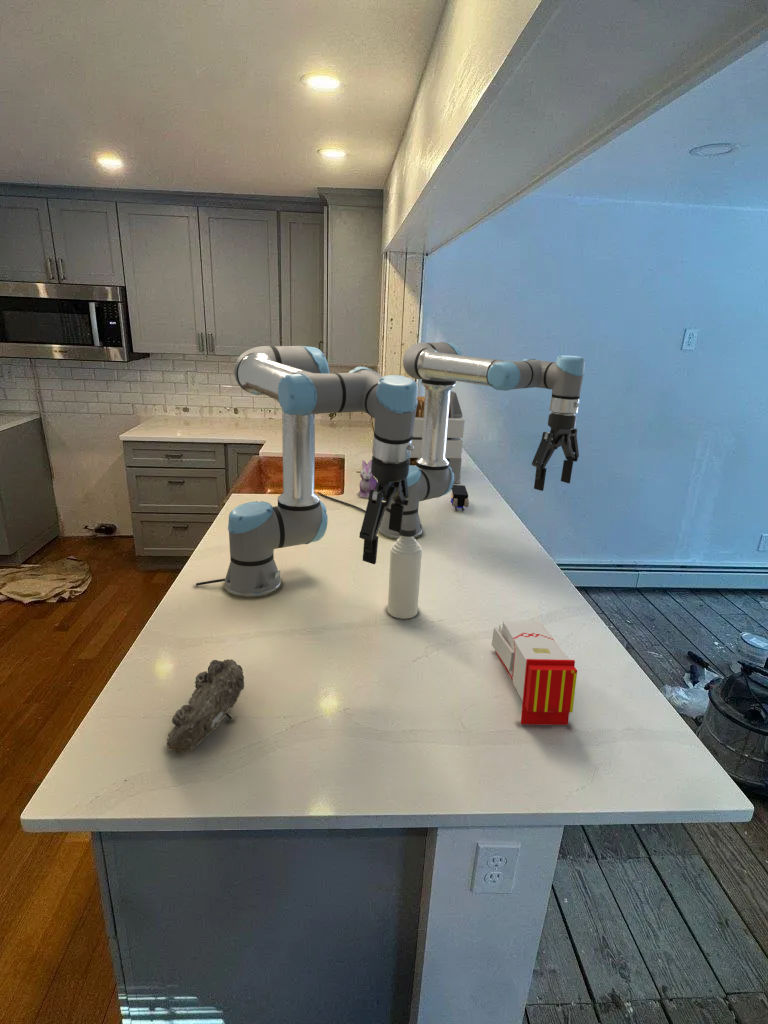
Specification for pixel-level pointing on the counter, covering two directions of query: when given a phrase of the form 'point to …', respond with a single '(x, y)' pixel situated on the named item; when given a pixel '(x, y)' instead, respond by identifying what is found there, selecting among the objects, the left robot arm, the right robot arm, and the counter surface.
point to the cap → (408, 530)
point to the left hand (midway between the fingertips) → (382, 545)
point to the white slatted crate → (453, 435)
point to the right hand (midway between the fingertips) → (552, 485)
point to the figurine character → (459, 497)
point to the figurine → (366, 480)
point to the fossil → (206, 705)
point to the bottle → (404, 577)
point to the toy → (537, 671)
